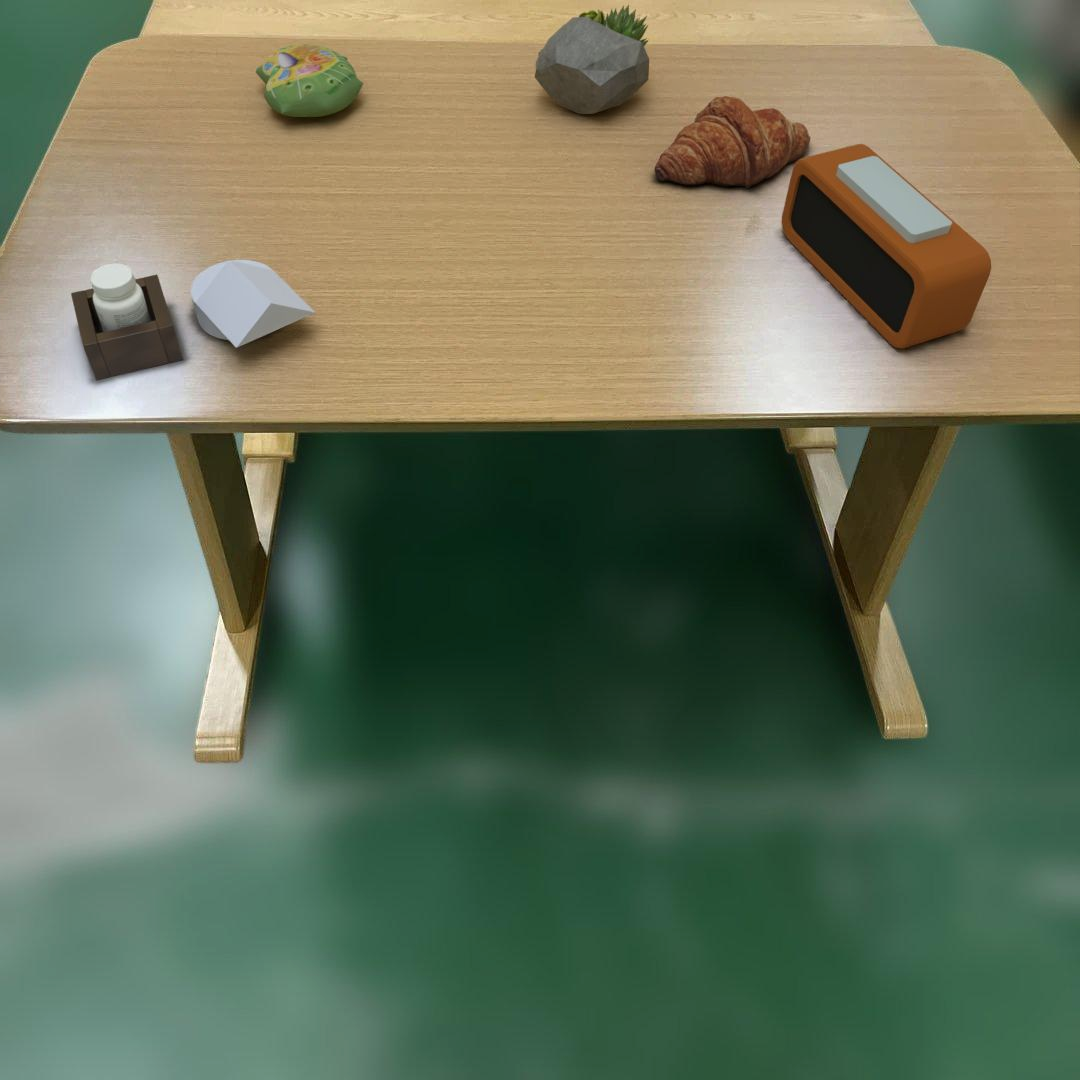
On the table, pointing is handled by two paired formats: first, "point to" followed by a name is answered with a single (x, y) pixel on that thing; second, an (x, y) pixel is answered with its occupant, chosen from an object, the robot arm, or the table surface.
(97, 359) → the socket
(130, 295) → the pill bottle
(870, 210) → the alarm clock
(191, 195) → the table surface
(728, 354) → the table surface
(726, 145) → the pastry
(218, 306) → the wedge on round base
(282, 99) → the educational model
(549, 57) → the potted plant
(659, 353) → the table surface
